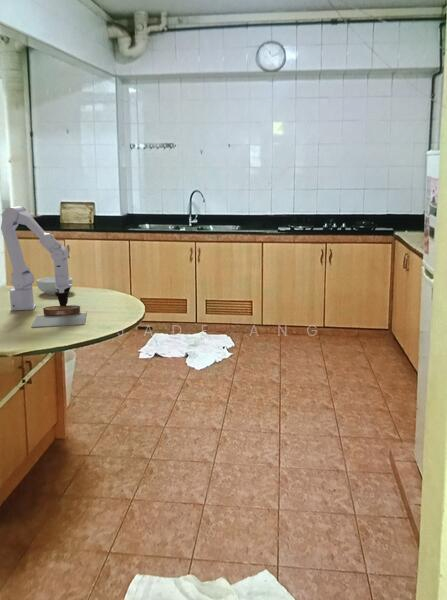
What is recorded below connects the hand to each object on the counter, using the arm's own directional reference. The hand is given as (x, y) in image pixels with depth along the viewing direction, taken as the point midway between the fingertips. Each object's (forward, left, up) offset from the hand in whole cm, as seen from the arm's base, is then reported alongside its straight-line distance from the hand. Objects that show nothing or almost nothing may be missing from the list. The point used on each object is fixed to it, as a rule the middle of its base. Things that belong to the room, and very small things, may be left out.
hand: (64, 305), depth 260 cm
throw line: (0, -9, -1) cm, 10 cm away
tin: (0, -5, 0) cm, 5 cm away
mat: (0, -20, -1) cm, 20 cm away
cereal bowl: (-7, +36, -2) cm, 36 cm away
